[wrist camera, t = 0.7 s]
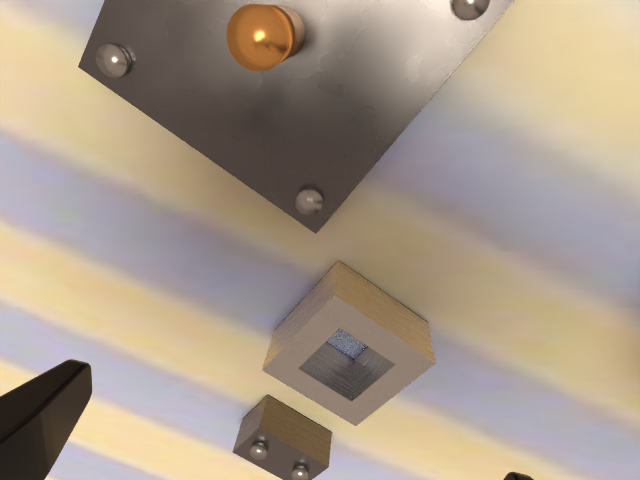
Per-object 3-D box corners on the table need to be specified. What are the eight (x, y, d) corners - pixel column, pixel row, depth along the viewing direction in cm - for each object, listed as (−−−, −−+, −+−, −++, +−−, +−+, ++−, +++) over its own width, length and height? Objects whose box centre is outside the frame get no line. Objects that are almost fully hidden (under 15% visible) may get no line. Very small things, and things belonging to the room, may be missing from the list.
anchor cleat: (331, 432, 28) (328, 473, 25) (304, 454, 29) (299, 495, 27) (267, 394, 27) (257, 433, 24) (242, 418, 28) (230, 458, 26)
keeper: (512, -7, 16) (568, -14, 11) (318, 224, 21) (304, 281, 16) (233, -274, 13) (165, -418, 9) (91, 64, 18) (4, 81, 14)
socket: (427, 322, 23) (435, 362, 20) (357, 383, 25) (355, 426, 23) (338, 260, 22) (334, 295, 19) (273, 330, 24) (262, 370, 22)
